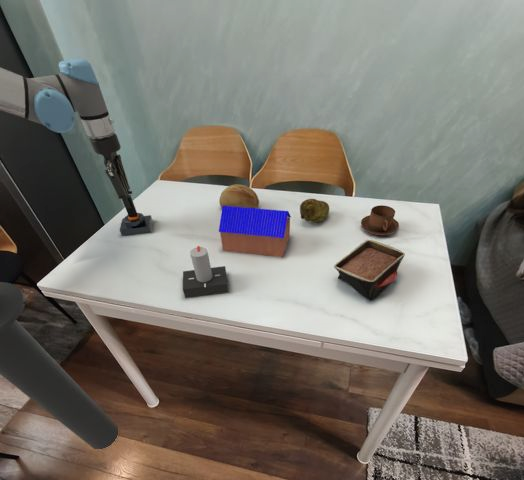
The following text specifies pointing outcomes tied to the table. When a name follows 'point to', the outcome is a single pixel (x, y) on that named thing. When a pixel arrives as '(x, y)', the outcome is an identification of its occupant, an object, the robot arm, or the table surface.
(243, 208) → the house
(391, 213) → the cup and saucer
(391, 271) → the baking dish
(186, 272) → the timer panel
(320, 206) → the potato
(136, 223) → the button block
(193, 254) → the timer dial
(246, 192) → the bread roll
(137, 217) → the button
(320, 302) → the table surface
